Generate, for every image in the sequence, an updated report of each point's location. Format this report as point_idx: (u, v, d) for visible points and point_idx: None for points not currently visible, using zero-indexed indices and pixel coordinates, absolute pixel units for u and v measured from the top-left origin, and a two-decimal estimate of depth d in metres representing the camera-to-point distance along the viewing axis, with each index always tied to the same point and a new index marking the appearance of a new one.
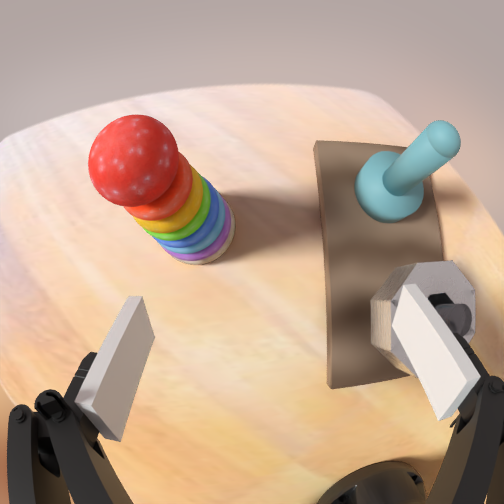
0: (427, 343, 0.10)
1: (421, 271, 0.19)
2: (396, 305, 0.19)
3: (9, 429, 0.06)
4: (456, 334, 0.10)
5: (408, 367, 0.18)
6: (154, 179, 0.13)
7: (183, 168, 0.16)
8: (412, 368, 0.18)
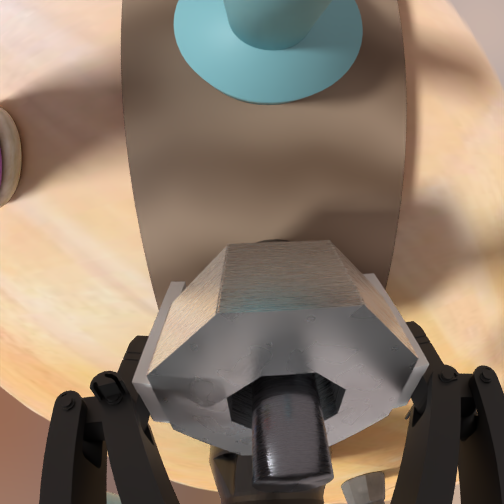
0: None
1: (233, 334, 0.07)
2: (163, 383, 0.08)
3: (54, 415, 0.07)
4: (412, 323, 0.11)
5: (218, 446, 0.11)
6: None
7: None
8: (226, 448, 0.11)
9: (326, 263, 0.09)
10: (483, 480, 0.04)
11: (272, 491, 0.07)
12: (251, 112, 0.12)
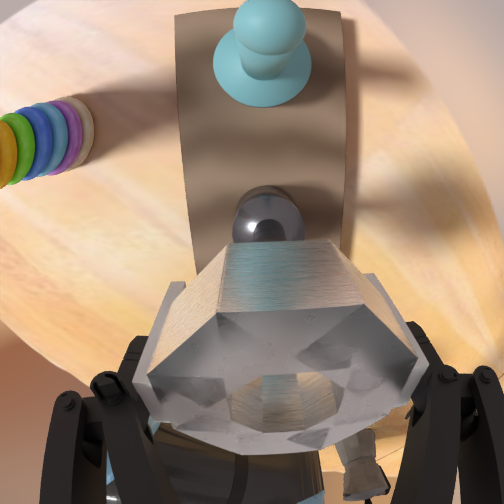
0: None
1: (233, 333, 0.07)
2: (163, 382, 0.08)
3: (53, 415, 0.07)
4: (412, 323, 0.11)
5: (218, 445, 0.11)
6: None
7: None
8: (226, 448, 0.11)
9: (326, 262, 0.09)
10: (483, 480, 0.04)
11: None
12: (253, 111, 0.21)
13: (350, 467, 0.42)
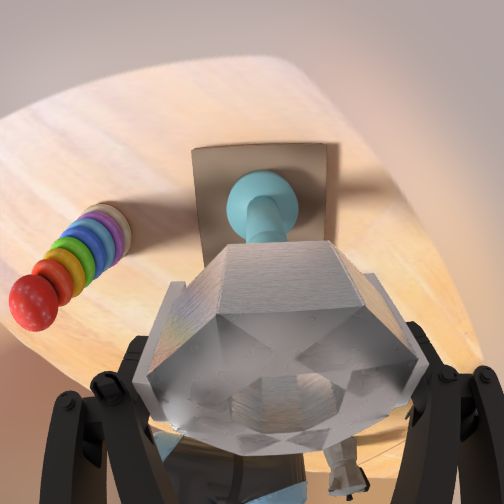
0: None
1: (233, 334, 0.07)
2: (163, 384, 0.08)
3: (53, 415, 0.07)
4: (412, 323, 0.11)
5: (218, 446, 0.10)
6: (48, 325, 0.19)
7: (61, 285, 0.21)
8: (226, 448, 0.11)
9: (326, 263, 0.09)
10: (483, 480, 0.04)
11: None
12: None
13: (334, 468, 0.53)
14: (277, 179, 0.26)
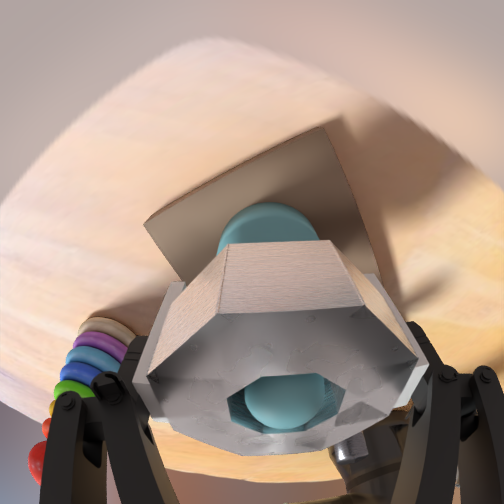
0: None
1: (233, 334, 0.07)
2: (163, 384, 0.08)
3: (54, 415, 0.07)
4: (412, 323, 0.11)
5: (218, 446, 0.10)
6: None
7: None
8: (226, 449, 0.10)
9: (326, 263, 0.09)
10: (483, 480, 0.04)
11: (347, 463, 0.16)
12: None
13: None
14: (271, 219, 0.16)
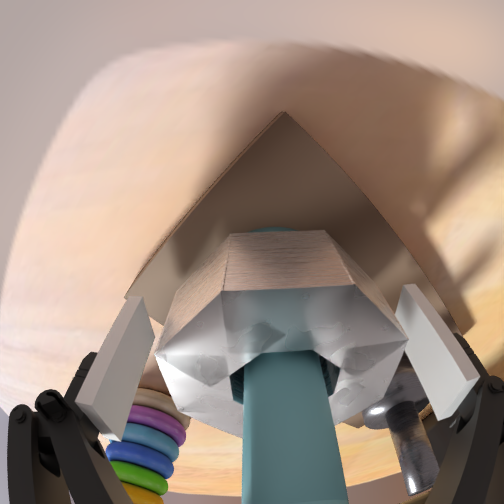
0: (426, 343, 0.10)
1: (236, 310, 0.08)
2: (170, 362, 0.09)
3: (10, 429, 0.06)
4: (456, 334, 0.10)
5: (220, 428, 0.11)
6: None
7: None
8: (228, 430, 0.11)
9: (320, 249, 0.10)
10: None
11: (421, 491, 0.11)
12: None
13: None
14: None
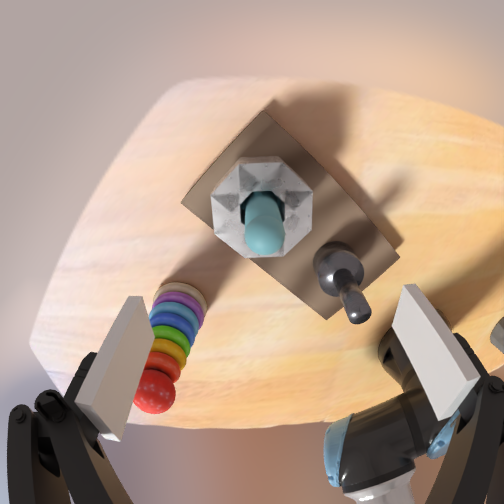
0: (426, 344, 0.10)
1: (243, 171, 0.24)
2: (216, 198, 0.25)
3: (9, 429, 0.06)
4: (456, 334, 0.10)
5: (233, 248, 0.27)
6: (171, 399, 0.26)
7: (164, 365, 0.28)
8: (237, 249, 0.27)
9: (274, 158, 0.26)
10: None
11: (360, 322, 0.27)
12: None
13: None
14: None
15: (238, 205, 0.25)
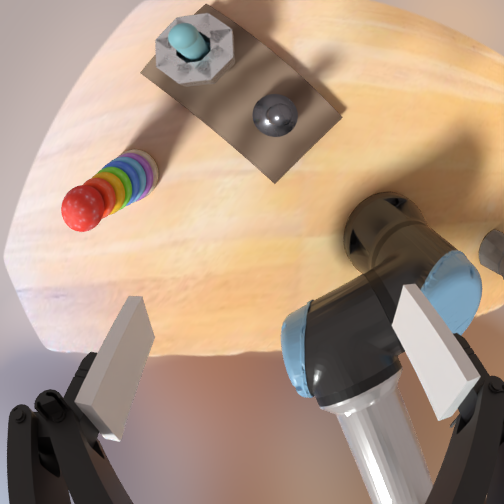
0: (426, 343, 0.10)
1: (179, 21, 0.24)
2: (159, 41, 0.25)
3: (9, 430, 0.06)
4: (456, 334, 0.10)
5: (170, 76, 0.27)
6: (96, 208, 0.26)
7: (99, 184, 0.28)
8: (173, 77, 0.27)
9: None
10: None
11: (283, 124, 0.27)
12: None
13: (502, 268, 0.40)
14: None
15: None
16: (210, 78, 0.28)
